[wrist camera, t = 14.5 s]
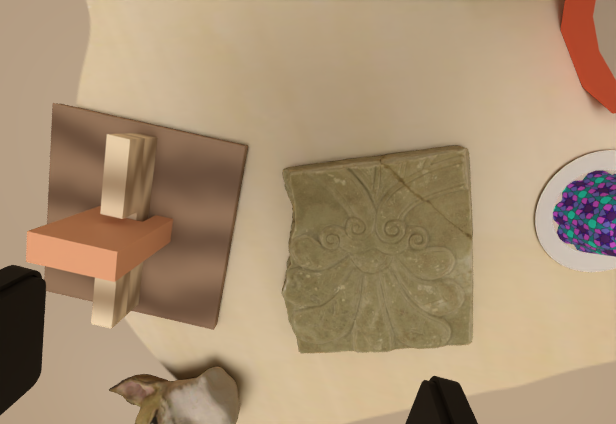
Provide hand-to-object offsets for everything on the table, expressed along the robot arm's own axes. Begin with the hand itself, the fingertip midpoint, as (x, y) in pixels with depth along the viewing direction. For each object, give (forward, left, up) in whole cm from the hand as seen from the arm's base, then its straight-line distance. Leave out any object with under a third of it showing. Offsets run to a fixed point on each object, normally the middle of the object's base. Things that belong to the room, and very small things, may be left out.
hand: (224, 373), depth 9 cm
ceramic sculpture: (+27, -8, -29) cm, 41 cm away
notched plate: (+7, -16, -28) cm, 33 cm away
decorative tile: (+5, +8, -30) cm, 31 cm away
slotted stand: (+7, -16, -29) cm, 34 cm away
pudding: (-4, +28, -30) cm, 41 cm away
